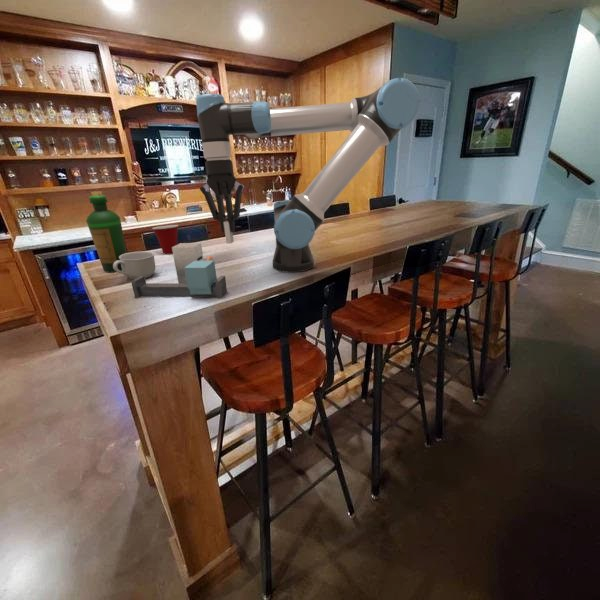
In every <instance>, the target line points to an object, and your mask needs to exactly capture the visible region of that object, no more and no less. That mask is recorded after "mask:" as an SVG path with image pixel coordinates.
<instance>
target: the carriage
mask: <svg viewBox="0 0 600 600" xmlns="http://www.w3.org/2000/svg"><path fill="white" fill-rule="evenodd" d="M184 270H185V275H186V281H187V287H188V288H189V289H190V294H212V291H211V286H212V285H213V284H214V283H216V282H215V281H216V280H217V279H218V278H217V272H216V266H215V260H213V261H193V262H192V263H190V264H189V265H187V266H186V267H185V268H184Z"/></svg>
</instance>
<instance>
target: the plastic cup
mask: <svg viewBox="0 0 600 600" xmlns="http://www.w3.org/2000/svg"><path fill="white" fill-rule="evenodd" d="M178 228H179V225H178V224H170V225H161V226H155V227H152V228H151V229H152V230H153V231H154V234H155V235H156V239H157V241H158V244H159V246H160V248H161V251H162V253H163V255H173V251H172V247H174V246H176V245H178V230H179V229H178Z"/></svg>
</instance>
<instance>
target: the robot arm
mask: <svg viewBox="0 0 600 600" xmlns="http://www.w3.org/2000/svg"><path fill="white" fill-rule="evenodd" d="M420 98H421V96H420V94H419V90H418V87H417V86H416V85H415V84H414V83H413V82H412V81H410V79H407V78H403V77H395V78H392V79H390V80H388V81H386V82H384V83H383V84H382V86H380V87H379V88H377V90H375V91H374V92H372V93H370V94H368V95H364V96H361V97H353V98H352V99H351V100H350V101H348V102H346V101H345V102H335V103H322V104H312V105H311V104H310V105H301V106H286V107H276V108H275V107H274V108H271V106H270V104H269V102H268V101H258V100H256V101H249V102H233V103H232V102H231V103H230V102H226V101H225V97H224V95H222V94H219V93H204V94H199V95H198V96H197V97H196V99H195V104H196V112H197V113H196V114H197V115H196V116H197V117H196V118H197V121H198V127H199V132H200V139H201V144H202V151H203V158H204V159H205V160H206V161H205V162H204V164H205V171H206V176H207V179H206V184H204V185H203V186H201V187H199V191H200V192H201V193H202V194H203V196H204V198H205V200H206V202H207V205H208V208H209V210H210V213H211V215H212V218H213V220H214V221H219V222H220V223H219V224H220V228H221V232H222V233H224V235H225V241H226V245H230V244H233V243H234V242H235V241H234V232H235V231H236V226H235V220H236V219H238V218H240V215H241V208H242V207H241V206H242V198H243V197H242V196H243V192H244V189H245V185H244V184H241V183H240V182H238V181H237V179H236V176H235V173H234V167H233V160H231V159H230V158H232V151H231V149H232V148H231V142H230V136H236V135H237V136H239V135H240V136H241V135H244V136H245V137H247V138H249V139H251V140H257V139H260V138H268V137H279V136H280V137H281V136H291V135H294V136H295V135H303V134H304V135H306V134H317V133H318V134H319V133H329V132H339V131H340V132H341V131H343V132H344V131H350V132H351V133H350V134H349V135H348V136H347V138H345V140H344V141H343V143H341V145H340V146H339V148H337V150H336V151H335V152H334V154H333V155H332V156H331V157H330V159H329V160H328V161H327V162H326V164H324V166H323V167H322V168H321V170H319V172H318V174H317V175H316V176H315V177H314V178H313V180H312V181H311V182H310V184H309V185H308V186H307V187H306V189H305V190H304V191H303V192H302V193H298V194H297V193H296V194H294V195H293V196H292V198H291V199H290V200H279V201H278V200H277V201H275V202H274V203H273V210H272V211H273V215H274V225H273V234H274V236H275V251H274V253H273V257H272V268H273V270H276V271H280V272H284V273H285V272H286V273H289V272H290V273H293V272H294V273H296V272H304V271H308V270H310V269H312V268H314V266H315V258H314V256H313V253H312V250H311V248H310V247H311V246H310V243H311V242H312V240H313V238H314V235H315V233H316V231H317V230H318V228H319V227H320V226H321V225H322V224H323V223H324V221H325V212H326V211H327V210H328V209H329V207H330V206H331V205H332V204H333V203H334V201H336V199H337V198H338V196H339V195H341V193H342V192H343V191H344V190H345V189H346V187H347V186H348V185H349V184H350V182H351V181H353V179H354V177H356V175H357V174H358V173H359V171H360V170H361V169H363V167H364V166H365V164H366V163H367V162H368V161H369V160H370V158H372V156H373V155H374V153H376V151H377V150H378V149H379V147H384V146H385V147H387V146H388V145H390V143H391V142H392V141H393V139H394V138H395V137H396V136H397V135H398V133H399V132H400V131H401V130H402V129H404V128H406V127H408V126H409V125H410V124H411V123H413V121H414V120H415V119H416V117H417V115H418V113H419V110H420V106H421V105H420V103H421V102H420V100H421V99H420ZM234 189H235V197H234V206H233V201H232V191H233V190H234ZM211 191H212V192H213V193H214V197H215V200H216V203H215V200H214V197H213V195H212V193H211ZM225 210H226V211H225ZM226 215H227V217H226Z"/></svg>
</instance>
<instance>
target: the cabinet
mask: <svg viewBox="0 0 600 600" xmlns="http://www.w3.org/2000/svg"><path fill="white" fill-rule="evenodd" d="M172 251H173V254H172V256H173V260H174V261H173V262H174V265H175V266H174V267H175V271H176V277H177V283H187V281H186V275H185V270H184V268H185V267H186V266H187V265H189V264H190V263H192V262H193V261H197V259H204V254H203V253H204V252H203V247H202V243H201V242H183V243H182V242H180V243H177V245H176V246H174V247H172Z"/></svg>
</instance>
